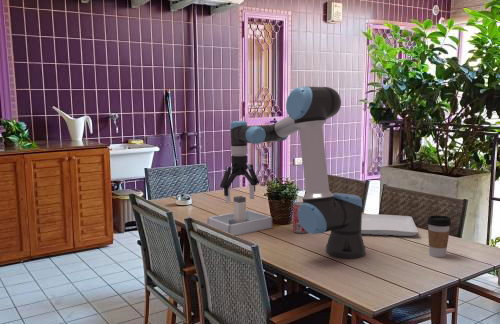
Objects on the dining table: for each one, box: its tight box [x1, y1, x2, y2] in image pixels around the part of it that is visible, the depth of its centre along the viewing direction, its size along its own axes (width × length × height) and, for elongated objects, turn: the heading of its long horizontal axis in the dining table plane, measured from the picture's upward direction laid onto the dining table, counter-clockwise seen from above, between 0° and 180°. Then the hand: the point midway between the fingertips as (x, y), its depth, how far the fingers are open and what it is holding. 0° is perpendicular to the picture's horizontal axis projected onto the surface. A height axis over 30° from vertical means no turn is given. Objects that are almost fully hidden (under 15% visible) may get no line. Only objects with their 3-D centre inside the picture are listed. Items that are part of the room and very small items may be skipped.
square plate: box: [361, 213, 419, 237], centre depth 223 cm, size 27×27×4 cm
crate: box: [206, 209, 273, 236], centre depth 226 cm, size 18×24×5 cm
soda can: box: [292, 201, 308, 234], centre depth 218 cm, size 7×7×13 cm
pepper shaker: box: [233, 195, 247, 222], centre depth 225 cm, size 4×4×14 cm
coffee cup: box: [427, 215, 452, 258], centre depth 186 cm, size 8×8×15 cm
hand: (240, 200), depth 224 cm, fingers open, 13 cm apart
